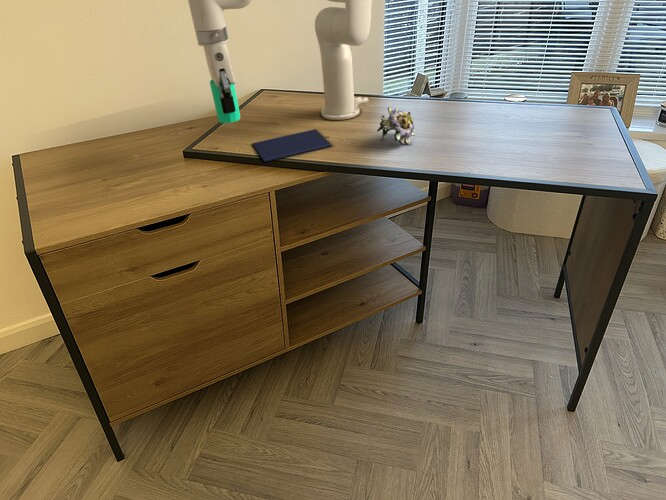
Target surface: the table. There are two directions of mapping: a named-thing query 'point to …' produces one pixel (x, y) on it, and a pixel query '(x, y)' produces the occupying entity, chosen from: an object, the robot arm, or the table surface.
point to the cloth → (291, 145)
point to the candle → (216, 96)
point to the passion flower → (398, 125)
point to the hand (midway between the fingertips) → (227, 108)
